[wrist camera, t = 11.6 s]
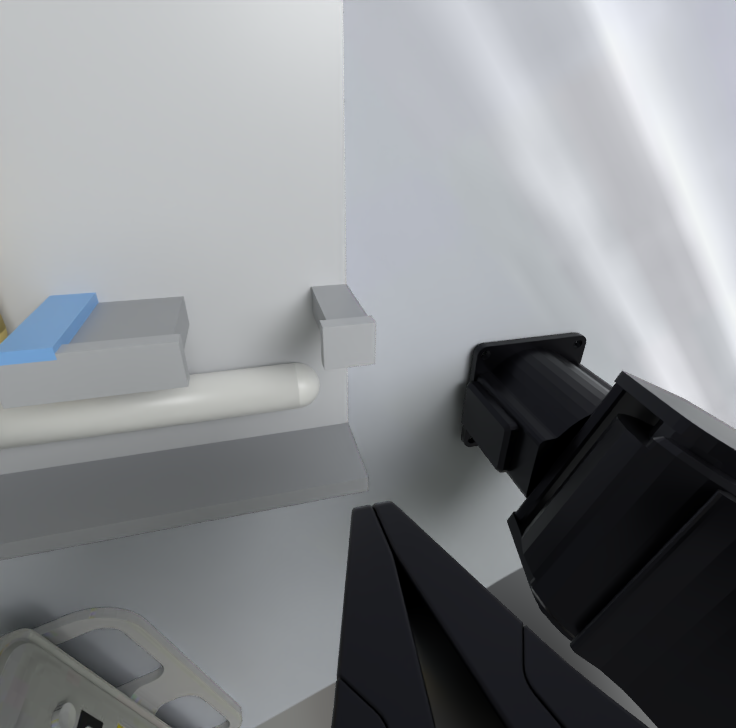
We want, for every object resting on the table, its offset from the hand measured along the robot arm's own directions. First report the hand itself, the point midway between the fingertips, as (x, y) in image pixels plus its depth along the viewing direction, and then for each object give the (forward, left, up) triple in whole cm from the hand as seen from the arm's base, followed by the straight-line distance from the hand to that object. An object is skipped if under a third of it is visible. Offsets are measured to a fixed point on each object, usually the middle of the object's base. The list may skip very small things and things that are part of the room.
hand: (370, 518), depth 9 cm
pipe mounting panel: (+7, -2, -12) cm, 14 cm away
